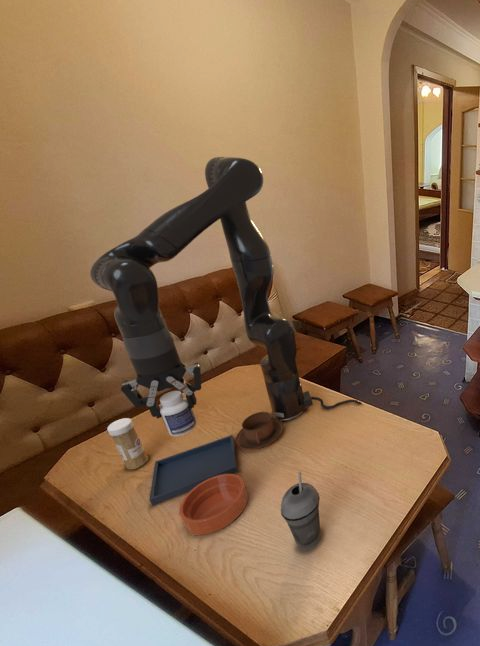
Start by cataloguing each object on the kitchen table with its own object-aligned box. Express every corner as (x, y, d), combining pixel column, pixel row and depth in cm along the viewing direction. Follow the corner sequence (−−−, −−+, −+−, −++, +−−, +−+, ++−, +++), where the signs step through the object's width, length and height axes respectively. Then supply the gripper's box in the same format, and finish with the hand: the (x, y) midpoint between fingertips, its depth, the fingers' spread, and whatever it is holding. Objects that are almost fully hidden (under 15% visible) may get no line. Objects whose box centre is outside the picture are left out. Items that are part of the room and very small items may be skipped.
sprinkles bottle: (147, 465, 93) (129, 425, 88) (124, 473, 91) (104, 432, 86) (149, 453, 97) (132, 414, 92) (127, 460, 95) (108, 421, 89)
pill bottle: (202, 424, 86) (191, 391, 82) (180, 439, 81) (166, 406, 77) (186, 418, 88) (174, 386, 84) (163, 433, 83) (149, 400, 79)
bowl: (245, 478, 90) (241, 465, 89) (250, 516, 81) (246, 503, 79) (186, 502, 84) (180, 489, 82) (184, 547, 75) (177, 533, 73)
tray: (234, 440, 102) (232, 434, 101) (237, 472, 92) (235, 466, 91) (157, 467, 93) (155, 461, 92) (152, 506, 83) (149, 500, 82)
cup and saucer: (290, 437, 103) (287, 420, 101) (245, 460, 95) (239, 443, 93) (275, 416, 111) (271, 401, 108) (231, 437, 103) (226, 420, 101)
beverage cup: (297, 524, 80) (281, 459, 72) (331, 522, 80) (318, 457, 72) (285, 559, 73) (265, 491, 65) (321, 556, 74) (306, 488, 66)
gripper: (102, 367, 69) (133, 433, 76) (193, 346, 76) (214, 408, 83) (109, 350, 74) (138, 413, 81) (193, 332, 82) (213, 391, 89)
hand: (176, 410), depth 82 cm, fingers closed on pill bottle, 5 cm apart
